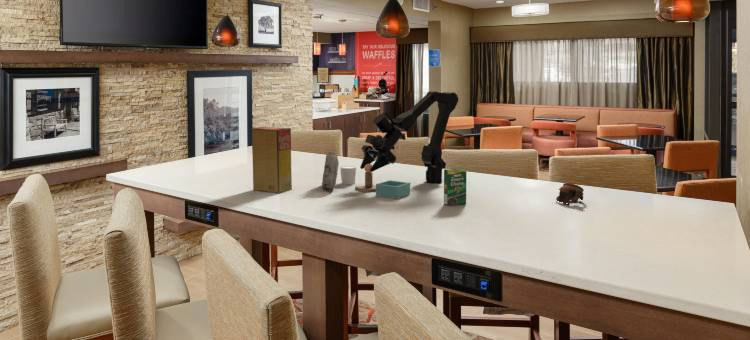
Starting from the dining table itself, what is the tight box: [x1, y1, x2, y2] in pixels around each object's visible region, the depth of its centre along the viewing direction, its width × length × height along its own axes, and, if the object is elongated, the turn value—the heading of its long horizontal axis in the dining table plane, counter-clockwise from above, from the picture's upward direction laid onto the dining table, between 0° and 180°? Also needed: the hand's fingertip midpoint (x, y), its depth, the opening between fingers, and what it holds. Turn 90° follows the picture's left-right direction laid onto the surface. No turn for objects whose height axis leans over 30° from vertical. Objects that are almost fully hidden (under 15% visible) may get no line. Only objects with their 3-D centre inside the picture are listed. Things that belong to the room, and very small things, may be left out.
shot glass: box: [339, 165, 357, 186], centre depth 245 cm, size 7×7×7 cm
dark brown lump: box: [555, 182, 585, 204], centre depth 210 cm, size 12×10×8 cm
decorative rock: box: [321, 151, 339, 190], centre depth 234 cm, size 16×7×15 cm, turn 0°
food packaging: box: [251, 126, 293, 194], centre depth 230 cm, size 13×9×25 cm
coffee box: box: [443, 167, 467, 207], centre depth 206 cm, size 8×3×13 cm, turn 111°
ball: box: [363, 163, 373, 173], centre depth 231 cm, size 4×4×4 cm
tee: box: [354, 171, 376, 193], centre depth 232 cm, size 8×8×7 cm
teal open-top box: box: [375, 179, 411, 200], centre depth 222 cm, size 10×10×4 cm
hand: (365, 169), depth 230 cm, fingers open, 7 cm apart
